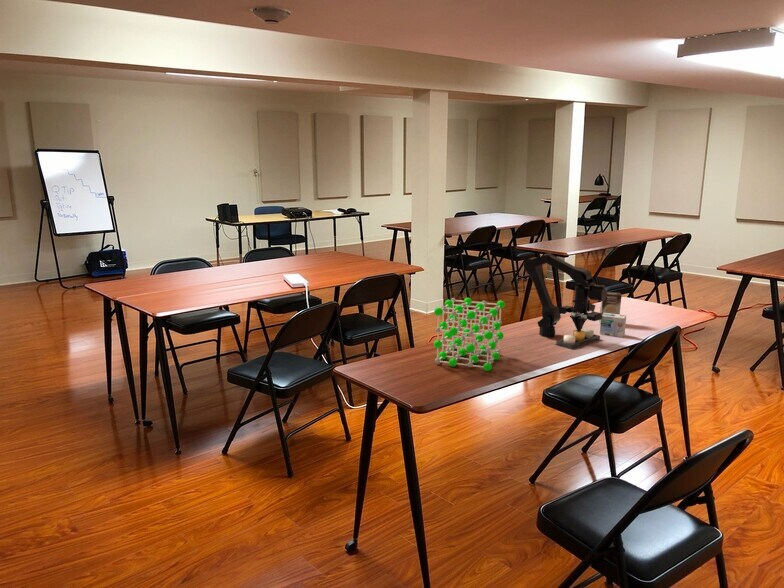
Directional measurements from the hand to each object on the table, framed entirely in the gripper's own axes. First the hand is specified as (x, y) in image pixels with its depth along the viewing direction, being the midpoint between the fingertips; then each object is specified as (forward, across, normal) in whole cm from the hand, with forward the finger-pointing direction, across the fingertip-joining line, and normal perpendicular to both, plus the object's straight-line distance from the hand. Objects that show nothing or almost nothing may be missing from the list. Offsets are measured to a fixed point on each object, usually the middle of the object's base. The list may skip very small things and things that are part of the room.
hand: (578, 331), depth 271 cm
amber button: (+4, 0, 0) cm, 4 cm away
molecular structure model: (+7, +17, +52) cm, 56 cm away
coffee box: (+7, +11, -44) cm, 45 cm away
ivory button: (+5, 0, +7) cm, 8 cm away
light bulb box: (+7, -3, -24) cm, 25 cm away
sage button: (+5, 0, -7) cm, 8 cm away
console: (+6, 0, 0) cm, 7 cm away
